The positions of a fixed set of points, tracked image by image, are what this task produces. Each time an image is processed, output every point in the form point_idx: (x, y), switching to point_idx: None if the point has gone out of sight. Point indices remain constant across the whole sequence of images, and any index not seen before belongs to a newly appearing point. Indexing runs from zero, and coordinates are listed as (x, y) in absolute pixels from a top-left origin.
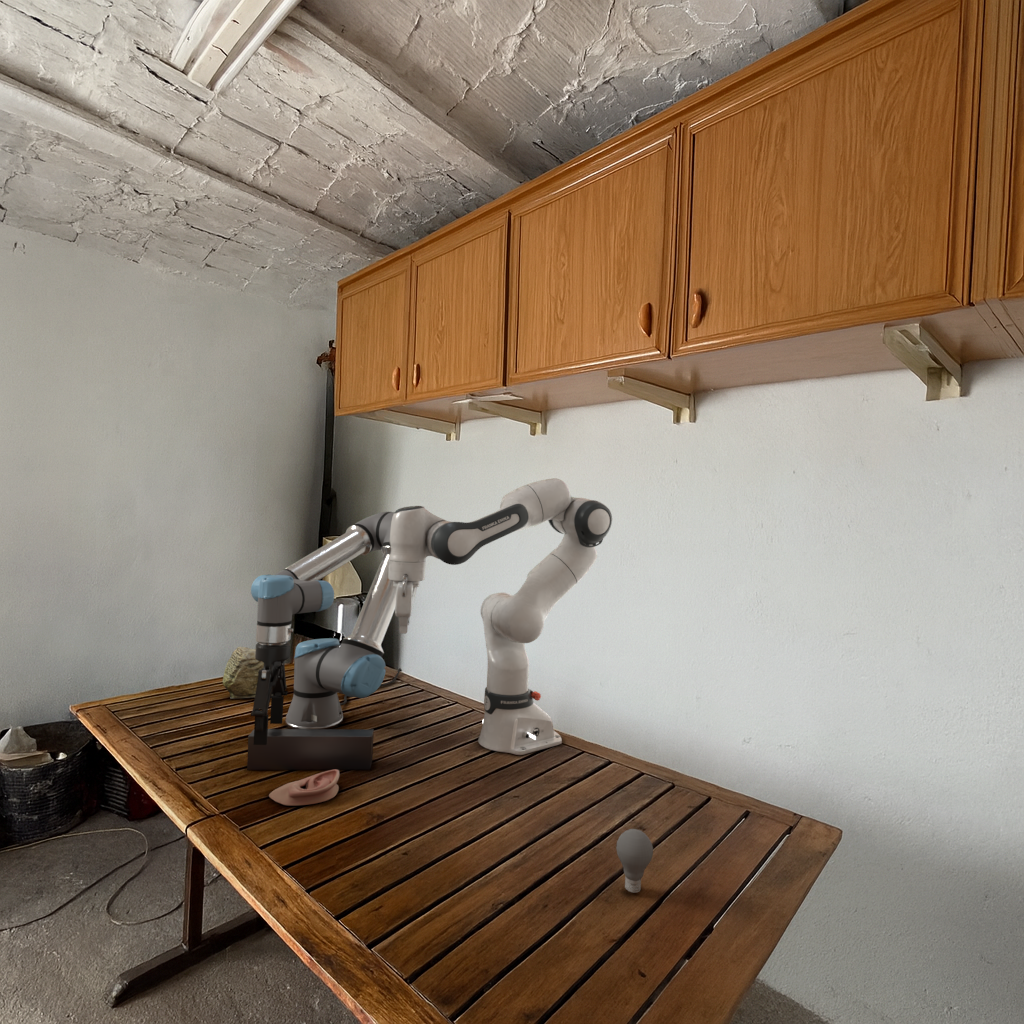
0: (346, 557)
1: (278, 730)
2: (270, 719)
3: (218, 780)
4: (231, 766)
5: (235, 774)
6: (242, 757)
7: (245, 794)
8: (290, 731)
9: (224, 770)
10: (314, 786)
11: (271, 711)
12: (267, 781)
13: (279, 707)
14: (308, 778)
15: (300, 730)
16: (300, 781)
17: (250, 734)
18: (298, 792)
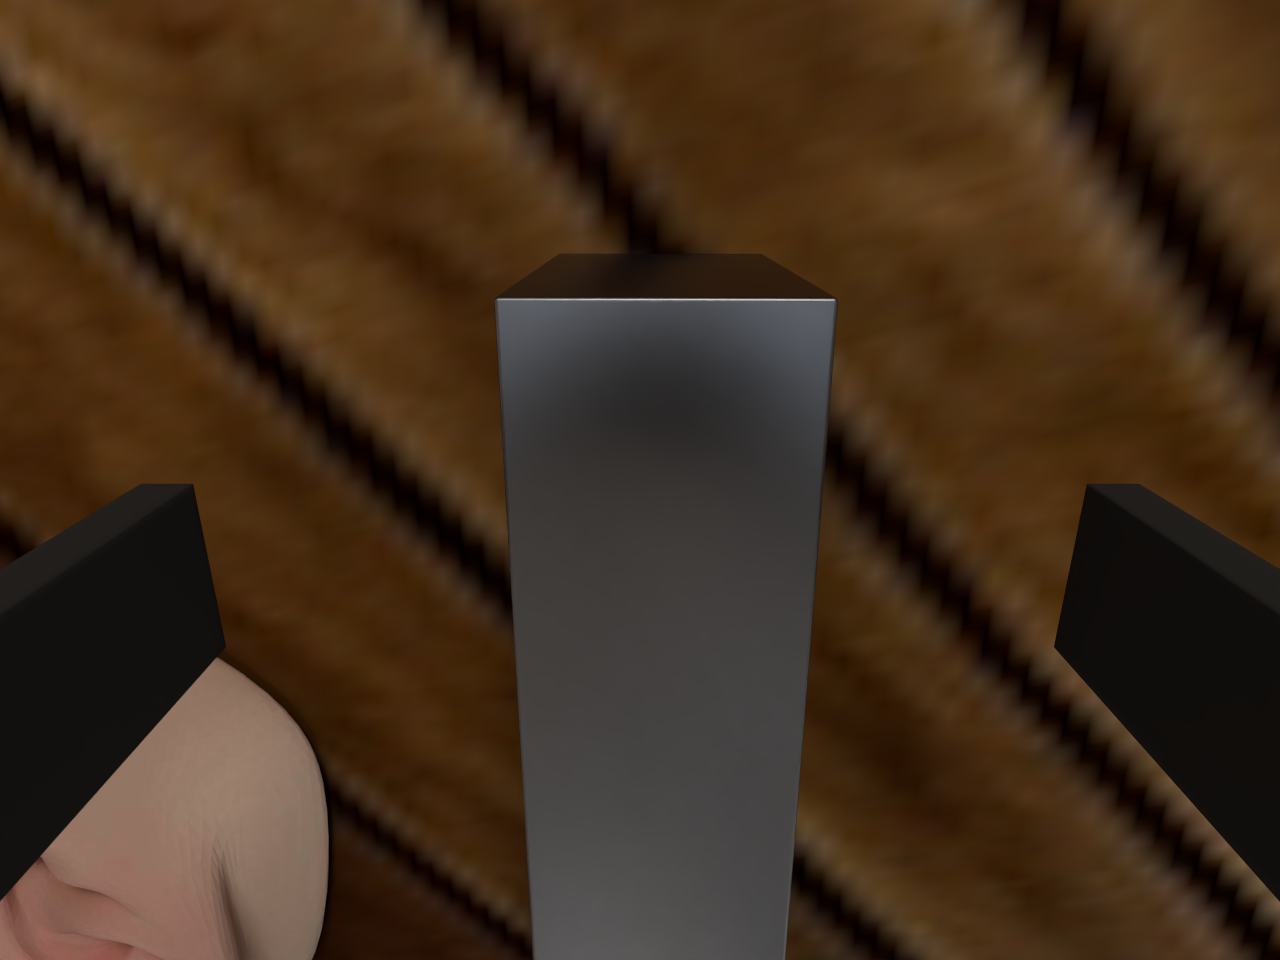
0: None
1: (742, 677)
2: (1130, 514)
3: (297, 27)
4: (650, 50)
5: (452, 165)
6: (893, 98)
7: (62, 392)
8: (703, 822)
9: (545, 4)
10: (71, 931)
11: (1226, 594)
12: (332, 505)
13: (1247, 792)
14: (131, 902)
15: (732, 922)
16: (67, 858)
17: (572, 312)
18: None
